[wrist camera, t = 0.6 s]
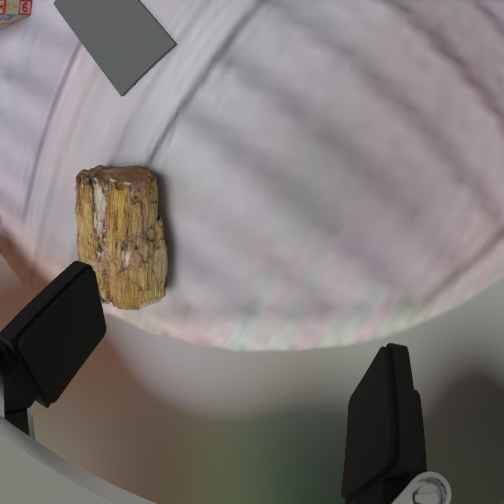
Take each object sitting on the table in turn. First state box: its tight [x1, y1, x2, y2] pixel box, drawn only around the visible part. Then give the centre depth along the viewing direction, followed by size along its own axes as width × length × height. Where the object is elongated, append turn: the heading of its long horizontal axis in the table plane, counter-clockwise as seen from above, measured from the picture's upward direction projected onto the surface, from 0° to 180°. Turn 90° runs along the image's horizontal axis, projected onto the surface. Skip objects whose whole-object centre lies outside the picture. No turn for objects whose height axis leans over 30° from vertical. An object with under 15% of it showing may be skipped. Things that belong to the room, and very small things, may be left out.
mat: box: [53, 0, 177, 96], centre depth 31 cm, size 10×22×1 cm, turn 36°
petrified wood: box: [75, 165, 168, 310], centre depth 42 cm, size 19×13×10 cm
